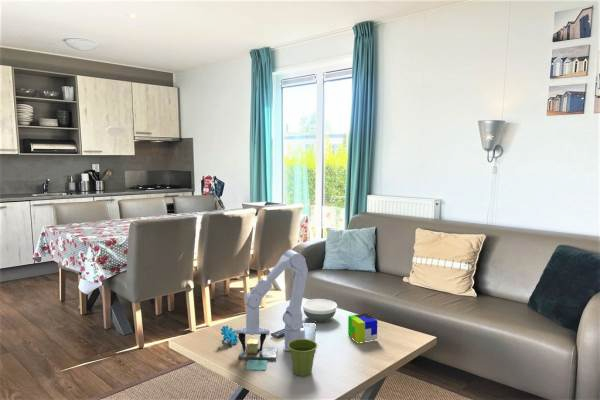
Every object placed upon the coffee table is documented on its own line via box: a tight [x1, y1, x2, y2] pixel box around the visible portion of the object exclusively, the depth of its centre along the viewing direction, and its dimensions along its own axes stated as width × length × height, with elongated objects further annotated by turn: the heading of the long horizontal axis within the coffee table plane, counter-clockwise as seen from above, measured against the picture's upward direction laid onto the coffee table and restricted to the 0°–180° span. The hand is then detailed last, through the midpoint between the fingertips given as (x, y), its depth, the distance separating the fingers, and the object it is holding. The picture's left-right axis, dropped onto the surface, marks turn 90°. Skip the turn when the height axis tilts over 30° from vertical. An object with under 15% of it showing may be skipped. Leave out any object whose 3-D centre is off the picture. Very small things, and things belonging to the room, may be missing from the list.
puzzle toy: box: [347, 312, 378, 344], centre depth 199 cm, size 10×10×10 cm
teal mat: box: [245, 360, 268, 371], centre depth 172 cm, size 8×8×1 cm
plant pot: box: [288, 338, 319, 377], centre depth 166 cm, size 12×12×11 cm
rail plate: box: [237, 345, 279, 362], centre depth 181 cm, size 16×10×1 cm, turn 88°
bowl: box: [301, 298, 338, 323], centre depth 222 cm, size 19×19×8 cm
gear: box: [220, 325, 239, 345], centre depth 194 cm, size 11×6×10 cm
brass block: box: [246, 338, 260, 355], centre depth 181 cm, size 4×4×6 cm
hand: (252, 350), depth 181 cm, fingers open, 7 cm apart
